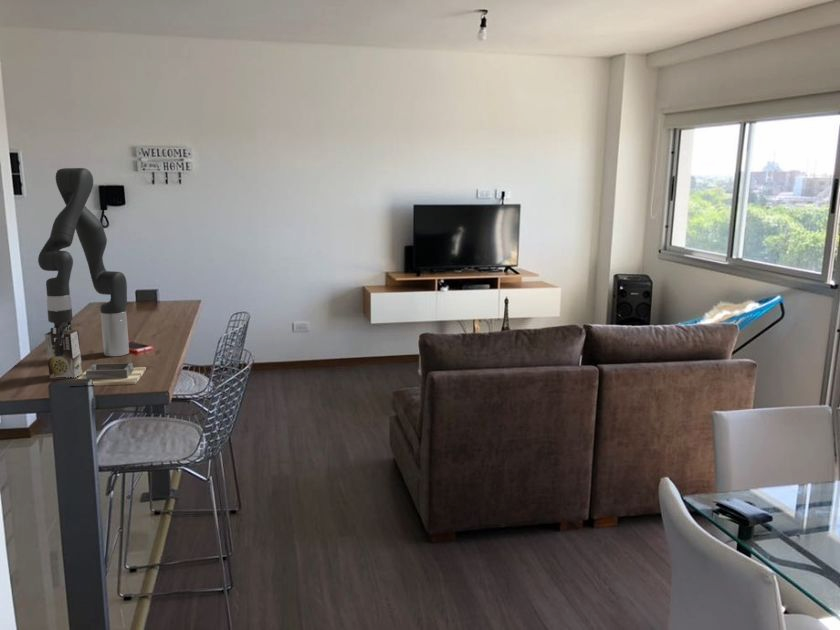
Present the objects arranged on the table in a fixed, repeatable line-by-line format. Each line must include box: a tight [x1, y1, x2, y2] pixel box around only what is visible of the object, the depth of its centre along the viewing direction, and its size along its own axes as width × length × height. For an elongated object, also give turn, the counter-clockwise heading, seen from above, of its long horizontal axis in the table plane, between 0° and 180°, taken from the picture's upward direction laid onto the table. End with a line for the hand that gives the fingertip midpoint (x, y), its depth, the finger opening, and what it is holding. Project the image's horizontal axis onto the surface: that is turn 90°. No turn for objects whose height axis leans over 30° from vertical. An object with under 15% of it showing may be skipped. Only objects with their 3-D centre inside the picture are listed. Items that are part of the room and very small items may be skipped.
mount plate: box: [77, 362, 147, 387], centre depth 236 cm, size 18×20×4 cm
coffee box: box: [44, 329, 84, 379], centre depth 236 cm, size 9×6×16 cm
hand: (63, 353), depth 236 cm, fingers open, 8 cm apart
